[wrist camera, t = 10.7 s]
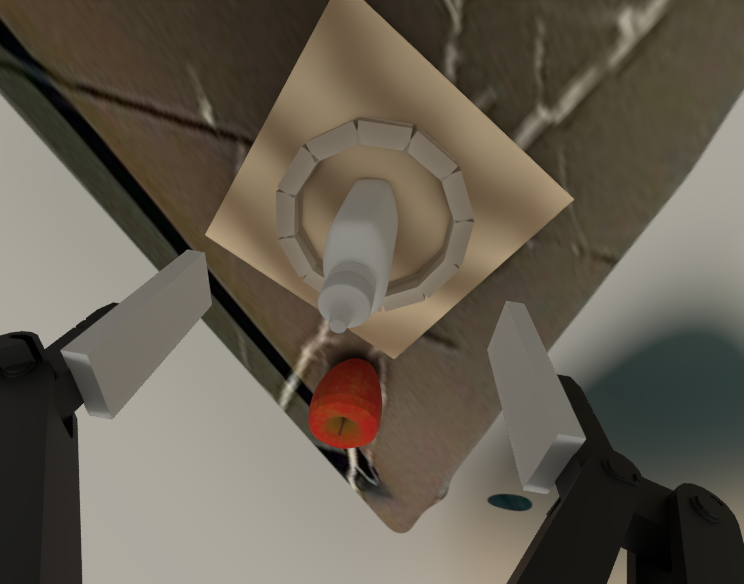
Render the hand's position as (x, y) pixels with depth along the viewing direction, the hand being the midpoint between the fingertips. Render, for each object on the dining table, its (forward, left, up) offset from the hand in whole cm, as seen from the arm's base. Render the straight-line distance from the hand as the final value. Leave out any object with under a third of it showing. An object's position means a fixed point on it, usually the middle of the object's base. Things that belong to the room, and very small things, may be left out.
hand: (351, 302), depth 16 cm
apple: (+14, +8, -13) cm, 21 cm away
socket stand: (0, 0, -12) cm, 12 cm away
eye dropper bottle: (0, 0, -11) cm, 11 cm away
